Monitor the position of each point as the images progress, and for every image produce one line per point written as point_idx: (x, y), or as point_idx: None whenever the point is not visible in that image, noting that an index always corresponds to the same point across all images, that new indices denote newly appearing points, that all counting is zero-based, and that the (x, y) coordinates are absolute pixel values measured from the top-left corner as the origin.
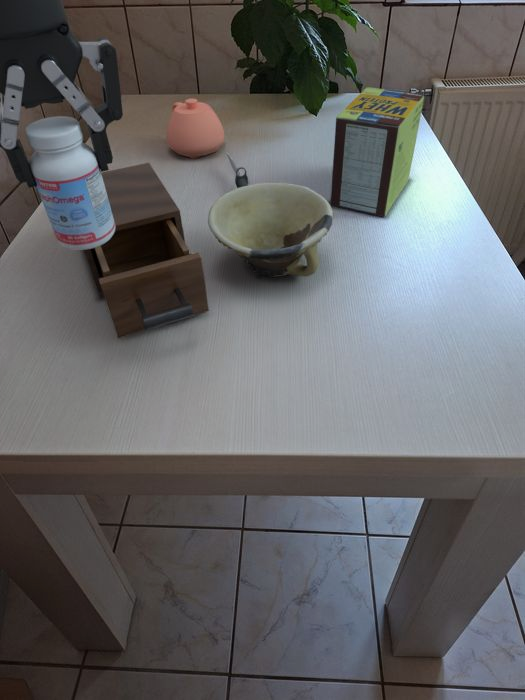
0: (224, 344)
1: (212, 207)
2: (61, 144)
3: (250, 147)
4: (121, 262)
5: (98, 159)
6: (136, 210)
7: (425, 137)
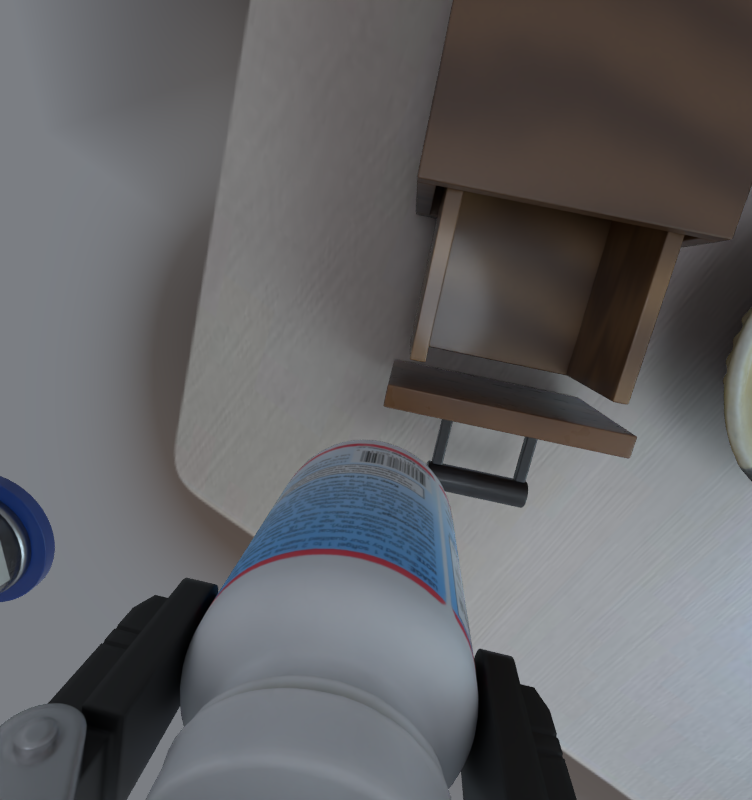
0: (542, 489)
1: None
2: None
3: None
4: None
5: (462, 773)
6: (625, 150)
7: None
